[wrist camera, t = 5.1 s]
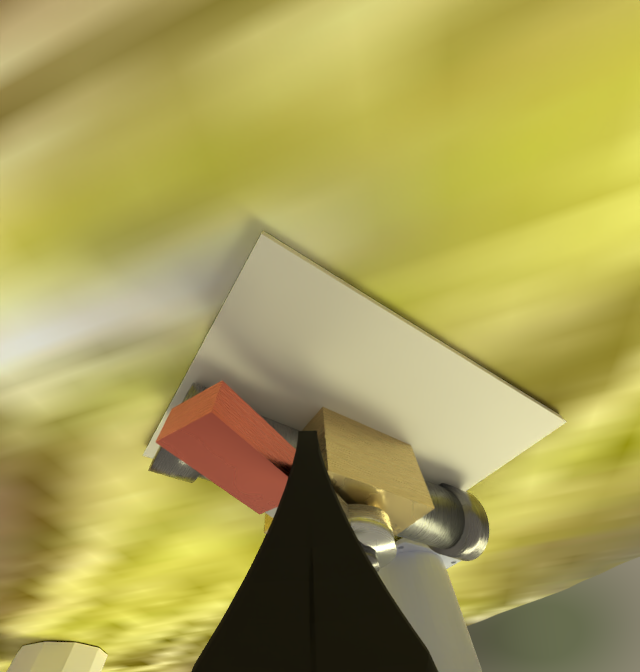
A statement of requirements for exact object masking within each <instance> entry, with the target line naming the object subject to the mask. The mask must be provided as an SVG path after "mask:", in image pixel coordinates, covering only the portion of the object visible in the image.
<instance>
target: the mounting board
mask: <svg viewBox="0 0 640 672" xmlns="http://www.w3.org/2000/svg"><path fill="white" fill-rule="evenodd" d="M222 380H223V381H224V382H225V383H226V384H227V385H228V386H229V387H230V388H231V389H232V390H233V391H234V392H235V393H236V394H238V395H239V396H240V397H241V398H242V399H243V400H244V401H245V402H246V403H247V404H248V405H249V406H250V407H251V408H252V409H253V410H254V411H256V412H257V413H258V414H259V415H261V416H264V417H266V418H269V419H271V420H274V421H276V422H279V423H281V424H284V425H286V426H289V427H292V428H294V429H297V430H299V431H302V430H303V429H304V428H305V426H306V425H307V424H308V423H309V422H310V421H311V419H312V418H313V417H314V416H315V415H316V414H317V413H318V411H319V410H320V409H321V408H322V407H325V408H327V409H329V410H332V411H334V412H336V413H338V414H341V415H343V416H345V417H348V418H350V419H352V420H354V421H357V422H359V423H361V424H364V425H366V426H368V427H370V428H373V429H375V430H377V431H380V432H382V433H384V434H386V435H389V436H391V437H393V438H396V439H398V440H400V441H402V442H405V443H407V444H409V445H411V447H412V449H413V452H414V454H415V457H416V460H417V462H418V465H419V468H420V470H421V473H422V476H423V478H424V480H426V481H429V482H431V483H434V484H436V485H440V484H441V483H445V484H448V485H451V486H453V487H456V488H458V489H461V490H463V491H467V490H468V489H470V488H471V487H473V486H474V485H475V484H477V483H478V482H480V481H481V480H483V479H484V478H486V477H487V476H489V475H490V474H491V473H493V472H494V471H496V470H497V469H499V468H500V467H502V466H503V465H505V464H506V463H508V462H509V461H510V460H512V459H513V458H515V457H516V456H518V455H519V454H521V453H522V452H524V451H525V450H526V449H528V448H529V447H531V446H532V445H534V444H535V443H537V442H538V441H540V440H541V439H543V438H544V437H545V436H547V435H548V434H550V433H551V432H553V431H554V430H556V429H557V428H559V427H560V426H561V425H563V424H564V423H566V421H565V420H564V419H563V418H562V417H561V416H560V415H559V414H557V413H556V412H554V411H553V410H551V409H549V408H548V407H546V406H545V405H543V404H541V403H540V402H538V401H537V400H535V399H533V398H532V397H530V396H528V395H527V394H525V393H524V392H522V391H520V390H519V389H517V388H516V387H514V386H512V385H511V384H509V383H508V382H506V381H504V380H503V379H501V378H499V377H498V376H496V375H495V374H493V373H491V372H490V371H488V370H487V369H485V368H483V367H482V366H480V365H479V364H477V363H475V362H474V361H472V360H471V359H469V358H467V357H466V356H464V355H462V354H461V353H459V352H458V351H456V350H454V349H453V348H451V347H450V346H448V345H446V344H445V343H443V342H442V341H440V340H438V339H437V338H435V337H433V336H432V335H430V334H429V333H427V332H425V331H424V330H422V329H421V328H419V327H417V326H416V325H414V324H413V323H411V322H409V321H408V320H406V319H404V318H403V317H401V316H400V315H398V314H396V313H395V312H393V311H392V310H390V309H388V308H387V307H385V306H384V305H382V304H380V303H379V302H377V301H376V300H374V299H372V298H371V297H369V296H367V295H366V294H364V293H363V292H361V291H359V290H358V289H356V288H355V287H353V286H351V285H350V284H348V283H347V282H345V281H343V280H342V279H340V278H338V277H337V276H335V275H334V274H332V273H330V272H329V271H327V270H326V269H324V268H322V267H321V266H319V265H318V264H316V263H314V262H313V261H311V260H310V259H308V258H306V257H305V256H303V255H301V254H300V253H298V252H297V251H295V250H293V249H292V248H290V247H289V246H287V245H285V244H284V243H282V242H281V241H279V240H277V239H276V238H274V237H272V236H271V235H269V234H268V233H266V232H264V231H262V233H261V235H260V237H259V239H258V241H257V242H256V244H255V246H254V248H253V250H252V252H251V254H250V256H249V257H248V259H247V261H246V263H245V265H244V267H243V269H242V270H241V272H240V274H239V276H238V278H237V280H236V282H235V284H234V285H233V287H232V289H231V291H230V293H229V295H228V297H227V298H226V300H225V302H224V304H223V306H222V308H221V310H220V312H219V313H218V315H217V317H216V319H215V321H214V323H213V325H212V327H211V328H210V330H209V332H208V334H207V336H206V338H205V340H204V341H203V343H202V345H201V347H200V349H199V351H198V353H197V355H196V356H195V358H194V360H193V362H192V364H191V366H190V368H189V369H188V371H187V373H186V375H185V377H184V379H183V381H182V383H181V384H180V386H179V388H178V390H177V392H176V394H175V396H174V397H173V399H172V401H171V403H170V405H169V407H168V409H167V411H166V412H165V414H164V416H163V418H162V420H161V422H160V424H159V425H158V427H157V429H156V431H155V433H154V435H153V437H152V439H151V440H150V442H149V444H148V446H147V448H146V450H145V452H144V454H143V456H146V457H149V458H152V459H153V458H154V456H155V454H156V452H157V450H158V448H159V446H160V445H158V444H157V443H156V440H157V438H158V436H159V434H160V432H161V430H162V428H163V426H164V424H165V422H166V420H167V418H168V416H169V414H170V412H171V410H172V408H174V407H176V406H177V405H179V404H181V403H182V401H183V399H184V397H185V396H186V394H187V392H188V390H189V389H190V387H191V385H192V383H193V382H194V383H196V384H199V385H201V386H204V387H206V388H209V387H211V386H213V385H215V384H217V383H218V382H220V381H222Z"/></svg>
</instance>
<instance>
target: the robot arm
mask: <svg viewBox="0 0 640 672" xmlns="http://www.w3.org/2000/svg"><path fill="white" fill-rule="evenodd" d="M395 544H396V548H397V554H396V556H395V558H394V559H393V560H392V561H391V562H390V563H389V564H387V565H386V566H384V567H382V568H380V569H379V572H378V573H377V571H376V570H375V568H374V566H373V565H372V563H371V562H370V560H369V558H368V556H367V555H366V553H365V551H364V549H363V547H362V546H361V544H360V542H359V540H358V538H357V536H356V535H355V533H354V531H353V529H352V527H351V525H350V523H349V521H348V519H347V517H346V515H345V513H344V511H343V508H342V506H341V504H340V502H339V499H338V497H337V495H336V492H335V490H334V488H333V485H332V483H331V480H330V477H329V475H328V472H327V469H326V467H325V464H324V460H323V457H322V454H321V450H320V446H319V442H318V437H317V431H298V441H297V447H296V452H295V456H294V460H293V464H292V467H291V470H290V474H289V477H288V480H287V483H286V486H285V489H284V492H283V494H282V497H281V500H280V502H279V505H278V508H277V510H276V513H275V515H274V518H273V520H272V522H271V525H270V527H269V529H268V532H267V534H266V536H265V538H264V540H263V543H262V545H261V547H260V549H259V551H258V553H257V555H256V557H255V559H254V561H253V563H252V565H251V567H250V569H249V571H248V573H247V575H246V577H245V579H244V581H243V582H242V584H241V586H240V588H239V590H238V591H237V593H236V595H235V597H234V599H233V600H232V602H231V604H230V606H229V608H228V610H227V611H226V613H225V615H224V617H223V618H222V620H221V622H220V623H219V625H218V627H217V628H216V630H215V632H214V633H213V635H212V637H211V638H210V640H209V642H208V643H207V645H206V646H205V648H204V650H203V651H202V653H201V655H200V656H199V658H198V660H197V661H196V663H195V665H194V667H193V669H192V672H482V669H481V667H480V664H479V661H478V658H477V655H476V652H475V650H474V647H473V644H472V641H471V638H470V635H469V633H468V630H467V627H466V624H465V621H464V618H463V615H462V612H461V610H460V607H459V604H458V601H457V598H456V595H455V592H454V590H453V587H452V584H451V581H450V578H449V575H448V572H447V570H446V569H447V568H449V567H451V566H453V565H455V564H456V563H458V562H460V561H461V560H458V559H455V558H451V557H448V556H445V555H441V554H438V553H436V552H434V551H433V550H431V549H430V548H429V547H428V546H427V545H425V544H422V543H419V542H415V541H412V540H409V539H405V538H401V539H399V540H398V541H396V542H395Z"/></svg>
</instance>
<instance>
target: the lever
mask: <svg viewBox="0 0 640 672" xmlns="http://www.w3.org/2000/svg"><path fill="white" fill-rule="evenodd" d="M156 443H157V444H158V445H160V446H161V447H163V448H164V449H166V450H167V451H169V452H170V453H171V454H173V455H174V456H176V457H177V458H179V459H180V460H182V461H183V462H184V463H186V464H187V465H189V466H190V467H192V468H193V469H195V470H196V471H198V472H199V473H200V474H202V475H203V476H205V477H206V478H208V479H209V480H211V481H212V482H213V483H215V484H216V485H218V486H219V487H221V488H222V489H224V490H225V491H227V492H228V493H229V494H231V495H232V496H234V497H235V498H237V499H238V500H240V501H241V502H242V503H244V504H245V505H247V506H248V507H250V508H251V509H253V510H254V511H255V512H257V513H258V514H262V513H264V512H265V513H266V514H268V515H269V516H271V517H272V518H274V515H275V513H276V510H277V508H278V505H279V502H280V500H281V497H282V494H283V492H284V489H285V486H286V483H287V480H288V477H289V474H290V470H291V467H292V464H293V460H294V456H295V452H296V449H295V448H294V447H293V446H292V445H290V444H289V443H288V442H287V441H286V440H285V439H284V438H283V437H282V436H281V435H280V434H279V433H278V432H277V431H276V430H275V429H274V428H272V427H271V426H270V425H269V424H268V423H267V422H266V421H265V420H264V419H263V418H262V417H261V416H260V415H259V414H258V413H257V412H256V411H254V410H253V409H252V408H251V407H250V406H249V405H248V404H247V403H246V402H245V401H244V400H243V399H242V398H241V397H240V396H239V395H238V394H236V393H235V392H234V391H233V390H232V389H231V388H230V387H229V386H228V385H227V384H226V383H225V382H224V381H223V380H222V381H220V382H218V383H217V384H215V385H213V386H211V387H209V388H208V389H206V390H204V391H202V392H201V393H199V394H197V395H195V396H193V397H192V398H190V399H188V400H186V401H185V402H183V403H181V404H179V405H177V406H176V407H174V408H172V410H171V412H170V414H169V416H168V418H167V420H166V422H165V424H164V426H163V428H162V430H161V432H160V434H159V436H158V438H157V440H156ZM336 495H337V494H336ZM337 497H338V499H339V502H340V504H341V506H342V508H343V511H344V513H345V515H346V517H347V519H348V521H349V523H350V525H351V527H352V529H353V531H354V533H355V535H356V536H357V538H358V540H359V542H360V544H361V546H362V547H363V549H364V551H365V553H366V555H367V556H368V558H369V560H370V562H371V563H372V565H373V566H374V568H375V570H376V571H377V573H378V572H379V569H380V568H382V567H384V566H386V565H387V564H389V563H390V562H391V561H392V560H393V559H394V558H395V556H396V554H397V548H396V544H395V540H394V536H393V532H392V528H391V523H390V519H389V517H388V515H387V514H386V513H385V512H384V511H383V510H381V509H379V508H377V507H374V506H370V505H364V504H347V503H346V502H345V501H344V500H343V499H342V498H341V497H340V496H338V495H337Z"/></svg>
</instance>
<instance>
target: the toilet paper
mask: <svg viewBox="0 0 640 672" xmlns="http://www.w3.org/2000/svg"><path fill="white" fill-rule="evenodd" d="M107 656H108V655H107V654H106V653H105V652H103V651H102V650H101V649H100V648H98V647H93V646H89V645H85V644H80V643H76V642H41V643H35V644H30V645H25V646H22V647H21V649H20V650H19V651H18V653H17V654H16V656H15V658H14V659H13V661H12V663H11V665H10V667H9V668H8V670H7V672H101V671H102V669H103V666H104V663H105V661H106V658H107Z"/></svg>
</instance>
